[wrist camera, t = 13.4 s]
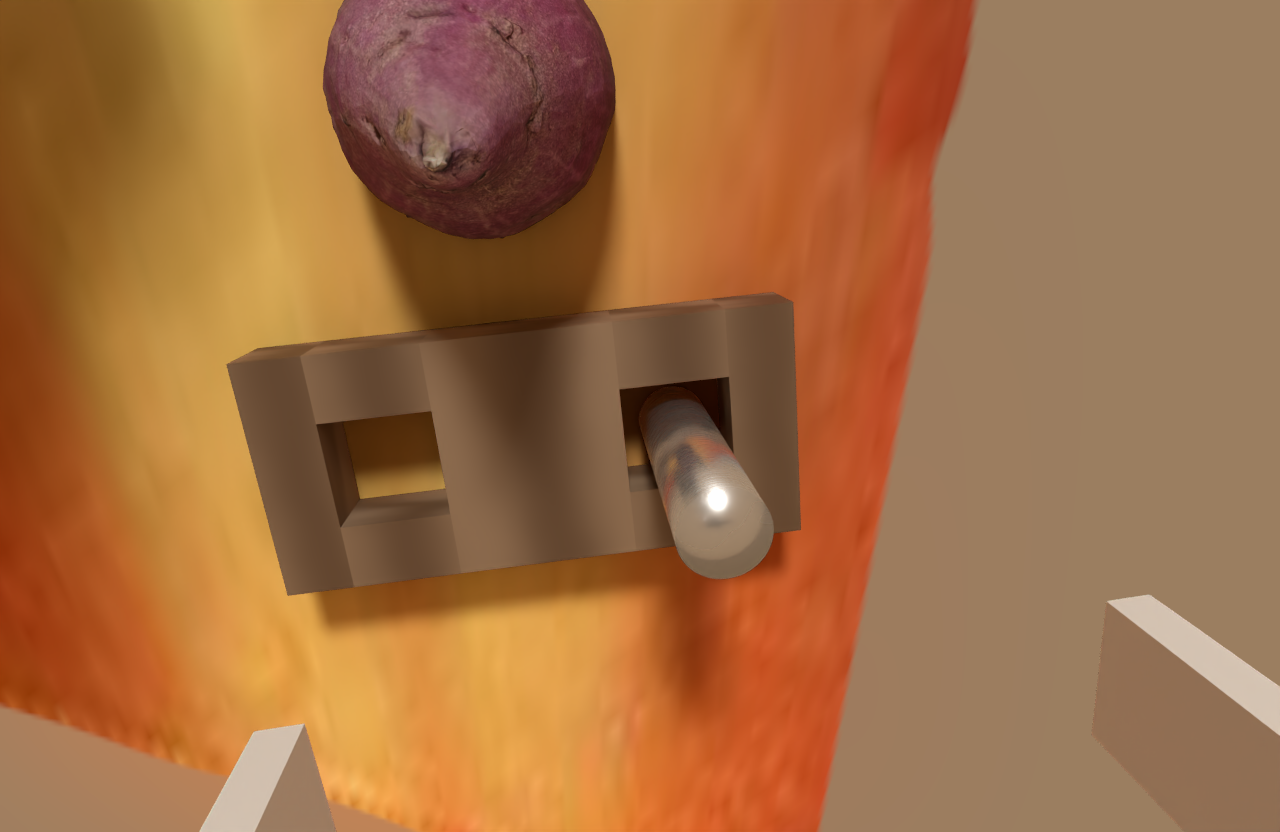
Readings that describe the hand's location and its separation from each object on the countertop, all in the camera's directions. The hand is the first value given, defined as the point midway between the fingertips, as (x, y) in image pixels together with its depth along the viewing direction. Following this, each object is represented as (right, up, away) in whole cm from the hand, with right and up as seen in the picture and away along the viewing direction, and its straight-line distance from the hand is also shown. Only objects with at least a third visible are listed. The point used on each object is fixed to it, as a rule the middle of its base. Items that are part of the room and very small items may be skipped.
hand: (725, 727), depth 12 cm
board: (-6, +4, +21) cm, 22 cm away
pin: (0, +5, +22) cm, 22 cm away
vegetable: (-8, +18, +17) cm, 26 cm away
